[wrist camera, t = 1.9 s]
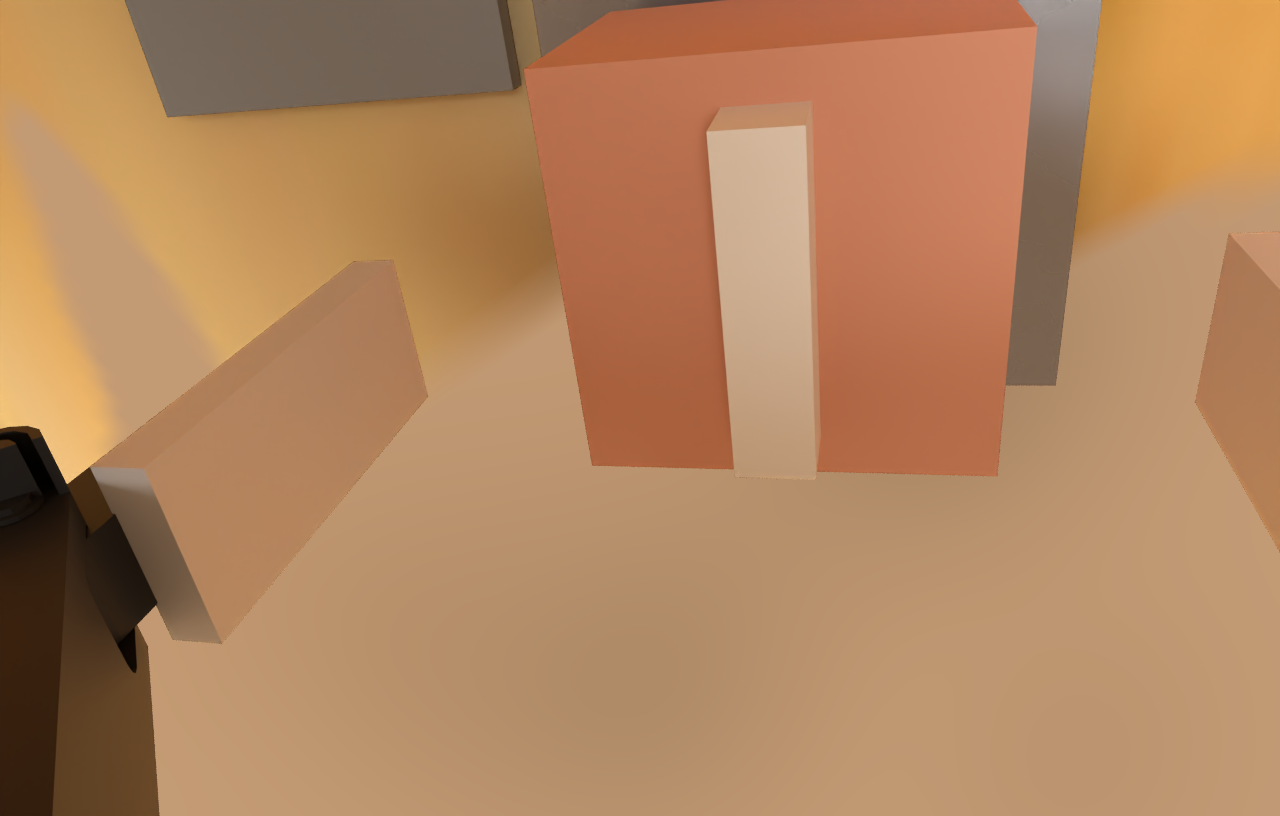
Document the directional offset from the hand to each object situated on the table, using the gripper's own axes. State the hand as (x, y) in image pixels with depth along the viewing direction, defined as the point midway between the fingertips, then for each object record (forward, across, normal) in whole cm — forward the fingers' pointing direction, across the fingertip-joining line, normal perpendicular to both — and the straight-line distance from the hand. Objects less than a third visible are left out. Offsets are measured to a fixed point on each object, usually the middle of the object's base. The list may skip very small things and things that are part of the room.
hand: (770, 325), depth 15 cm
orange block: (+7, 0, 0) cm, 7 cm away
